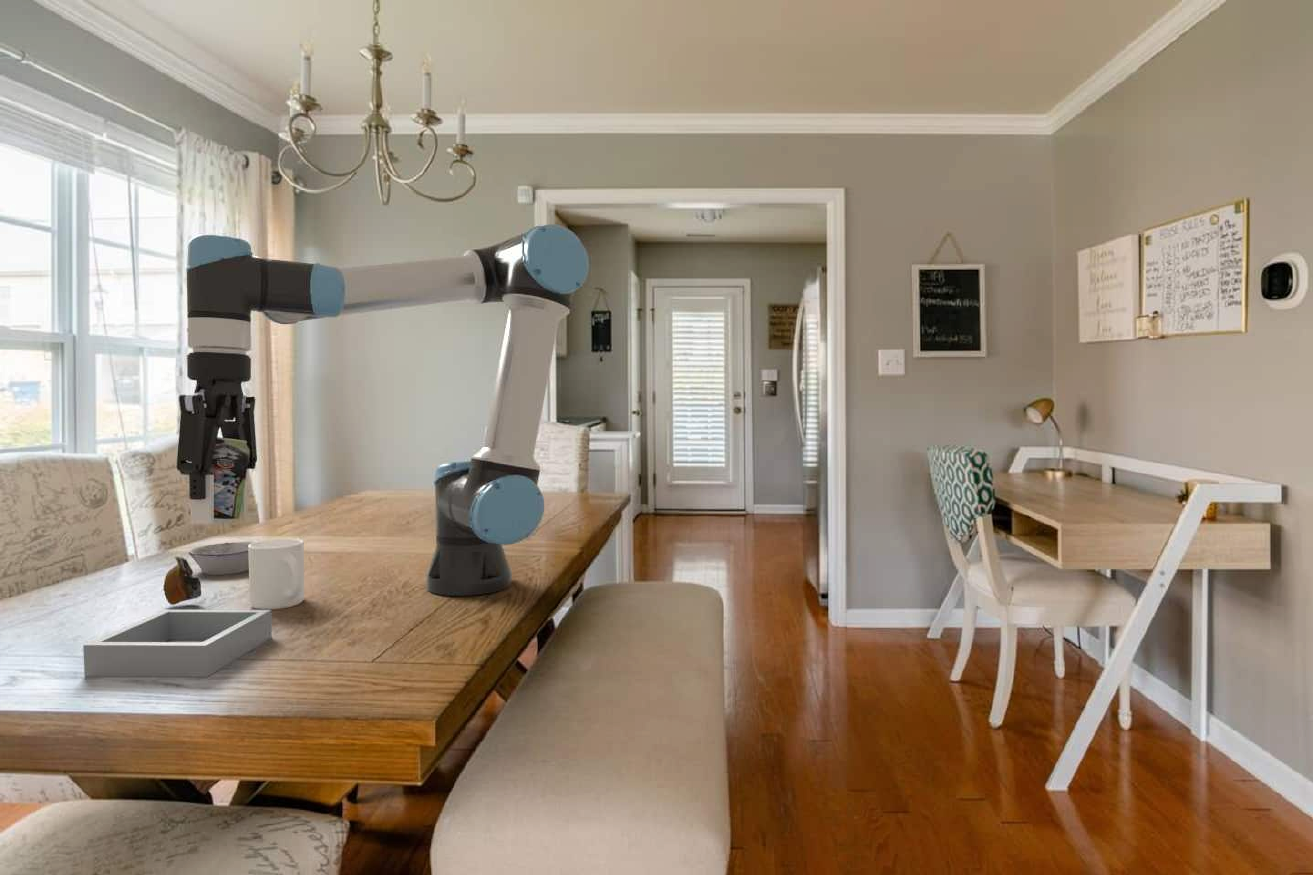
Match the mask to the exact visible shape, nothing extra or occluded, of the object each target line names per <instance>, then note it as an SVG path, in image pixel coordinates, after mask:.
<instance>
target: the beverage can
mask: <svg viewBox="0 0 1313 875" xmlns="http://www.w3.org/2000/svg"><path fill="white" fill-rule="evenodd" d="M246 443H247V441H244V440H236V439H228V438H223V437H219V436H217V440H216V444H215V449H214V453H213V458H212V462H211V466H210V471H209V474H208V475H214V524H231V523H233V522H234V520H238V519H240V511H241V505H242V498H243V492H244V486H245V480H246V473H247V474H248V469H247V467H248V461H249V454H250V450H249V448H248V446H247V444H246ZM201 465H202V463H201ZM188 509H189V510H188V515H189V516H190V508H188Z"/></svg>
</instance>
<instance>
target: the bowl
mask: <svg viewBox="0 0 1313 875" xmlns="http://www.w3.org/2000/svg"><path fill="white" fill-rule="evenodd" d="M252 543H255V541H237V542H235V541H234V542H233V541H232V542H224V543H223V542H222V543H214V544H205V545H202V546H198V547H195V548H193V549H190V551H189V552H188V555H189V556H190V557H191V558H192V559H193V560H194V561H195V563H196V564H197V566H198V567H199V568H200V570H201V572H202V573H204V574H206V575H212V576H215V575H216V576H219V575H220V576H221V575H231V574H232V575H233V574H237V573H242V572H246V571H249V553H248V546H249V545H250V544H252Z"/></svg>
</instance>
